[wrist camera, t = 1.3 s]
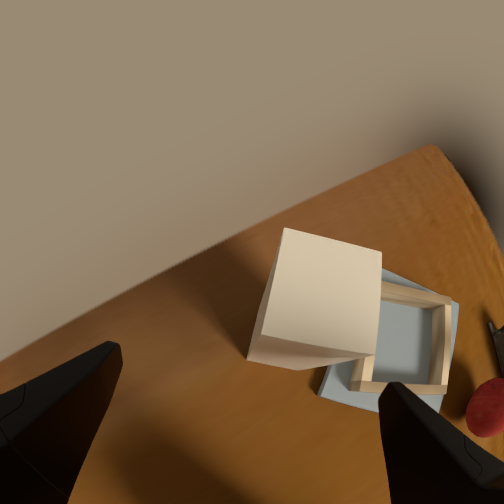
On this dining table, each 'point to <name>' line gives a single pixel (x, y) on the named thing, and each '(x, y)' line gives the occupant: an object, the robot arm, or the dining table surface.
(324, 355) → the block
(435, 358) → the socket collar
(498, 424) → the onion
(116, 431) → the dining table surface
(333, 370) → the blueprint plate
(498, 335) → the mobile phone
